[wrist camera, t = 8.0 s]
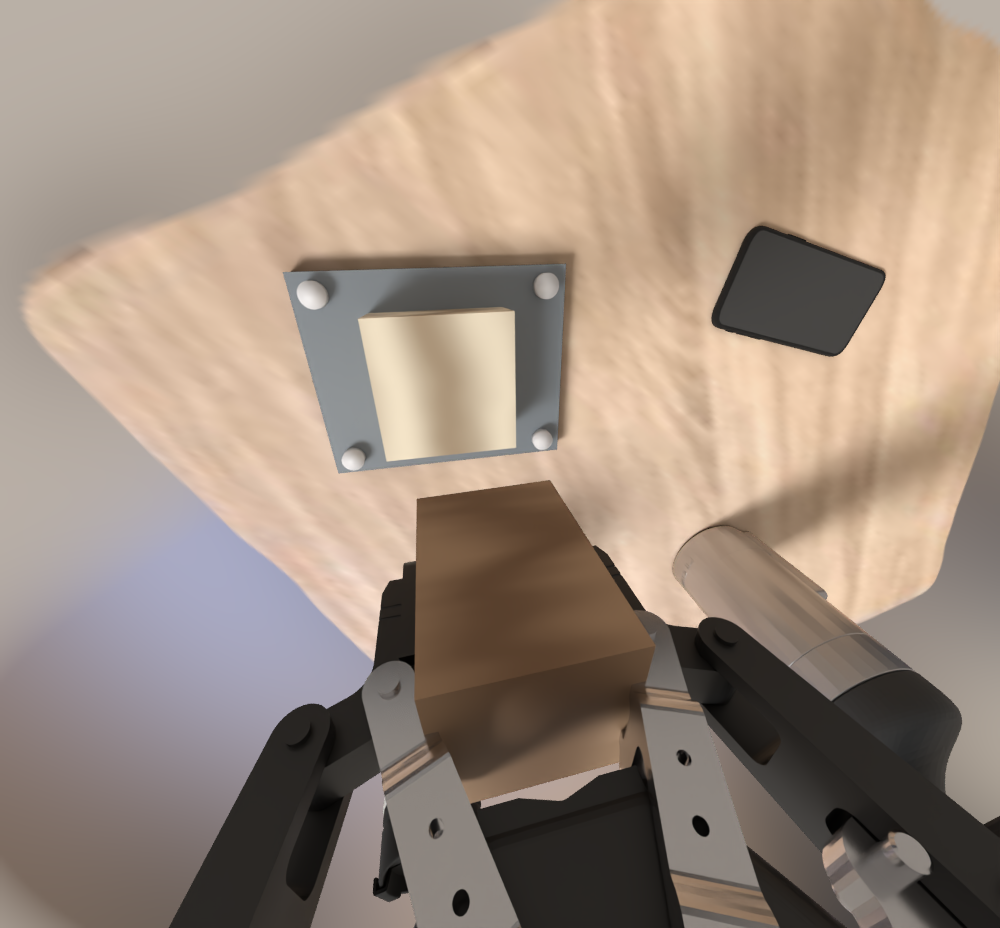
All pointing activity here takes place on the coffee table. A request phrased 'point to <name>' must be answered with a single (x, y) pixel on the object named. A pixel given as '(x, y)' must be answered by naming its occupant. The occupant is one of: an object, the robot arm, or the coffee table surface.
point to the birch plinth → (442, 380)
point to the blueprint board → (353, 293)
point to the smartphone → (795, 293)
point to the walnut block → (520, 639)
